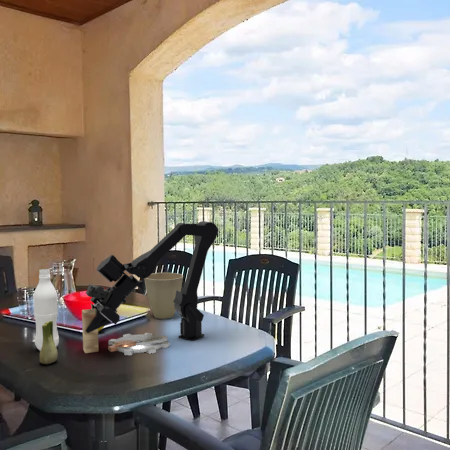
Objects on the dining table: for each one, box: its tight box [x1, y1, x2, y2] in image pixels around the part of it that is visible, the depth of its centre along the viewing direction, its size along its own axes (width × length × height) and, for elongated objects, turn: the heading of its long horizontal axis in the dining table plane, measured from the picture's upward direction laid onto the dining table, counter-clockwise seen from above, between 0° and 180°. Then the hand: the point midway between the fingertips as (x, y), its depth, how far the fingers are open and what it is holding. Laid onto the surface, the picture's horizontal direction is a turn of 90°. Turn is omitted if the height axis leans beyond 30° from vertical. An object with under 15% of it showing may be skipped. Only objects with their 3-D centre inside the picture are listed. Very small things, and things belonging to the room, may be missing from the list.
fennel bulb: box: [39, 321, 59, 365], centre depth 151 cm, size 6×5×12 cm
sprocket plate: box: [107, 332, 170, 356], centre depth 167 cm, size 19×19×1 cm
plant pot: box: [143, 272, 184, 320], centre depth 202 cm, size 15×15×16 cm
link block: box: [81, 308, 99, 354], centre depth 162 cm, size 4×4×12 cm
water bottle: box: [32, 268, 60, 352], centre depth 163 cm, size 7×7×25 cm
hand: (85, 330), depth 161 cm, fingers closed on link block, 4 cm apart
